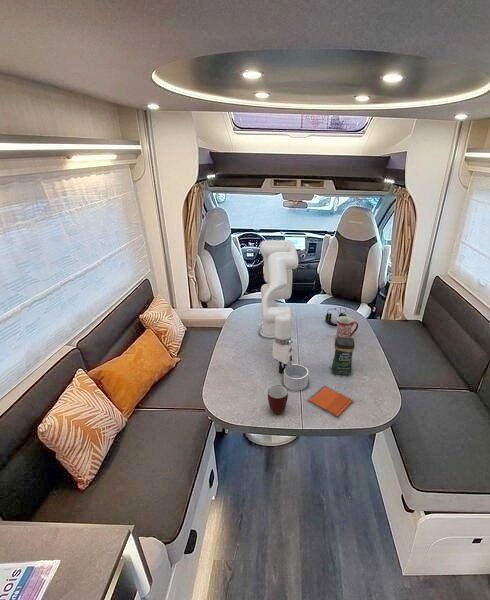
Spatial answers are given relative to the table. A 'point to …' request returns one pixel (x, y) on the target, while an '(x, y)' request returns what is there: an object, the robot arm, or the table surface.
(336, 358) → the coffee jar
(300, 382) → the pot
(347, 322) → the mug
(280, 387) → the mug
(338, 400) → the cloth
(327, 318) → the headphones
